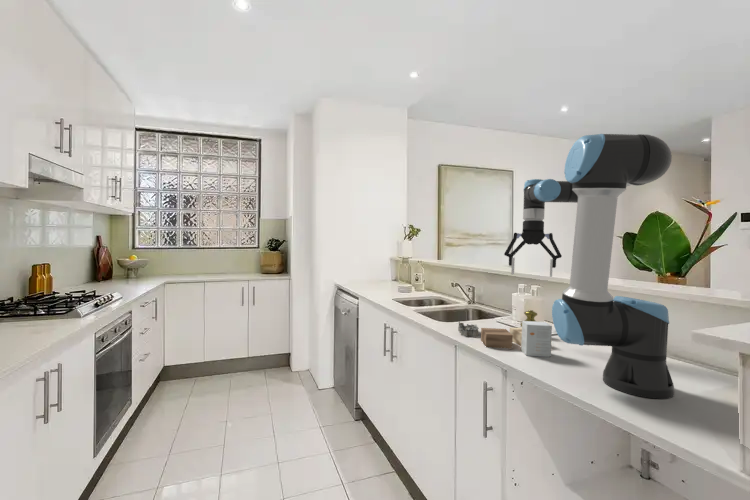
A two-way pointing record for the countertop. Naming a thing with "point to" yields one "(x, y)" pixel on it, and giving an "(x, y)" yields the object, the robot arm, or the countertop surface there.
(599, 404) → the countertop surface
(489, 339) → the walnut block
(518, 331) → the maple block
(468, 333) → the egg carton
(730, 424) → the countertop surface
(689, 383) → the countertop surface
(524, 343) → the small box
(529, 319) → the olive-gold lumpy piece
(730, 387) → the countertop surface
